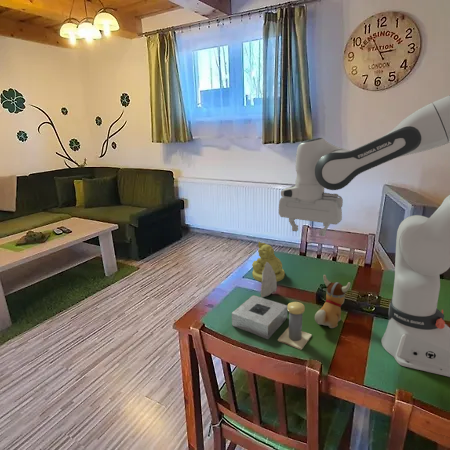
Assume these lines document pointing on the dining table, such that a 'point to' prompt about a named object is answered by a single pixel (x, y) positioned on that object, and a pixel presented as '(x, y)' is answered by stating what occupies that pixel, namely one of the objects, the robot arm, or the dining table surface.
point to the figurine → (268, 256)
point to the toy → (332, 304)
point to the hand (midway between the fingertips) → (308, 233)
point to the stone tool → (268, 281)
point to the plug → (295, 320)
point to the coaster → (297, 344)
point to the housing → (259, 316)
